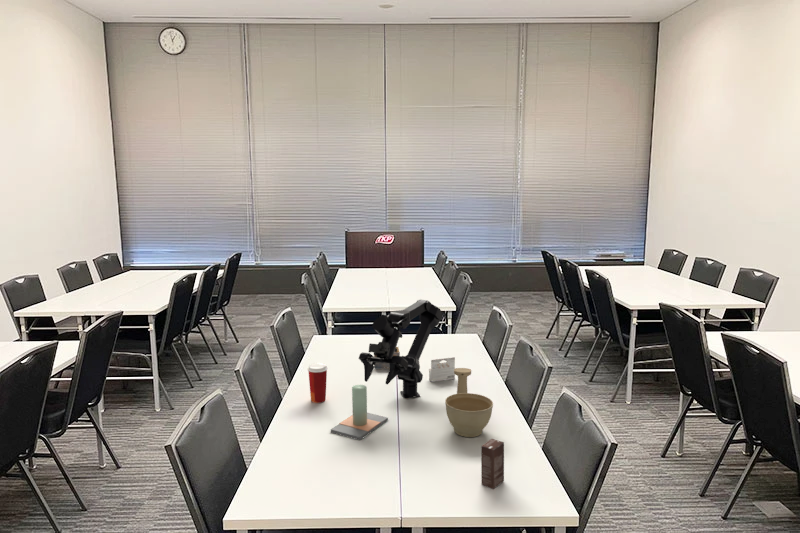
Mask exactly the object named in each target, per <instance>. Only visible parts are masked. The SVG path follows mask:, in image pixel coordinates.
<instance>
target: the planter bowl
mask: <svg viewBox="0 0 800 533" xmlns="http://www.w3.org/2000/svg"><path fill="white" fill-rule="evenodd" d="M444 404H445V412H446V416H447V419H448V421H449V423H450V424H451V426H452V428H453V430H454V433H455V434H456V435H458V436H461V437H465V438H474V437H475V438H476V437H478V436H480V435H482V433H483V430H484V429H485V428H486V427H487V425H488V423H489V422H490V419H491V417H492V413H493V407H494V403H493V400H492V399H491V398H489V397H488V396H485V395H482V394H478V393H471V392H467V393H459V394H457V393H454V394H451V395H449V396H447V397H446V398H445V401H444Z"/></svg>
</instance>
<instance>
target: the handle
mask: <svg viewBox="0 0 800 533" xmlns="http://www.w3.org/2000/svg"><path fill="white" fill-rule="evenodd" d="M454 374H455V376H457V386H456V388H457V389H456V394H459V393H468V377H469V376H471V375H472V369H470V368H465V367H457V368H456V367H455V369H454Z"/></svg>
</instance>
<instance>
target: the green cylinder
mask: <svg viewBox="0 0 800 533" xmlns="http://www.w3.org/2000/svg"><path fill="white" fill-rule="evenodd" d="M367 388H368V387H367V386H366V385H365V384H355V385H353V386H352V387H351V392H352V393H351V398H352V400H351V401H352V402H351V403H352V415H353V424H354V425H356V426H363V425H365V424H367V413H368V404H367V403H368V393H367V392H368V391H367Z"/></svg>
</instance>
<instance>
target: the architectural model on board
mask: <svg viewBox="0 0 800 533" xmlns="http://www.w3.org/2000/svg"><path fill="white" fill-rule="evenodd" d="M396 349H397V352H394V355H393V356H401V353H400V349H399V346H396ZM373 356H374V357H377V356H376V355H374V354H373ZM373 366H374V370H382V369H385V370H386V369H388V370H389V369H390V364H387V363H377V362H376V363H375V364H374V365H373Z"/></svg>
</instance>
